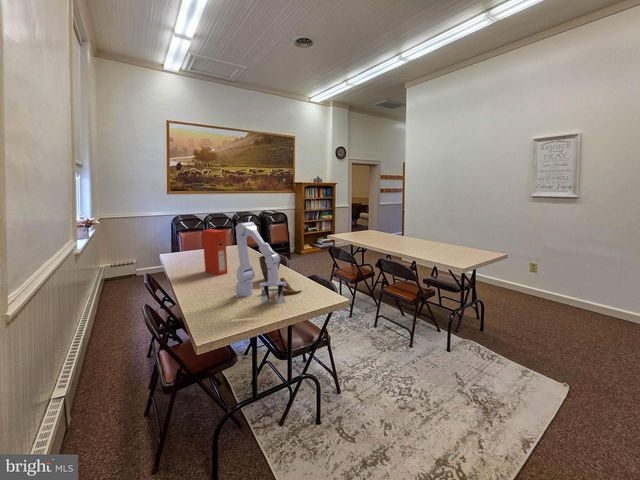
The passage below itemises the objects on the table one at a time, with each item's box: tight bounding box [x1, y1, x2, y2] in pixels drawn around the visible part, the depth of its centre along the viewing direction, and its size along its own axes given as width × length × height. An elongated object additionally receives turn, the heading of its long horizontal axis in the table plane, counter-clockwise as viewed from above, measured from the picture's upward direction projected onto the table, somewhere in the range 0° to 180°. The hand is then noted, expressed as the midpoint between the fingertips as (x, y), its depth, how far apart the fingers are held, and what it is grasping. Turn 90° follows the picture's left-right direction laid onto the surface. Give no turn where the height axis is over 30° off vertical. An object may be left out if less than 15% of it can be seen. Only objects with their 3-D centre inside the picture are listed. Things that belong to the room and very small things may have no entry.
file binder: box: [202, 228, 228, 276], centre depth 230 cm, size 8×17×32 cm, turn 51°
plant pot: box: [258, 255, 282, 282], centre depth 214 cm, size 15×15×16 cm
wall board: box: [261, 287, 286, 306], centre depth 177 cm, size 13×18×4 cm
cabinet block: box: [269, 291, 278, 303], centre depth 172 cm, size 5×6×5 cm
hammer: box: [279, 277, 302, 296], centre depth 197 cm, size 12×3×30 cm
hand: (273, 298), depth 172 cm, fingers closed on cabinet block, 5 cm apart
